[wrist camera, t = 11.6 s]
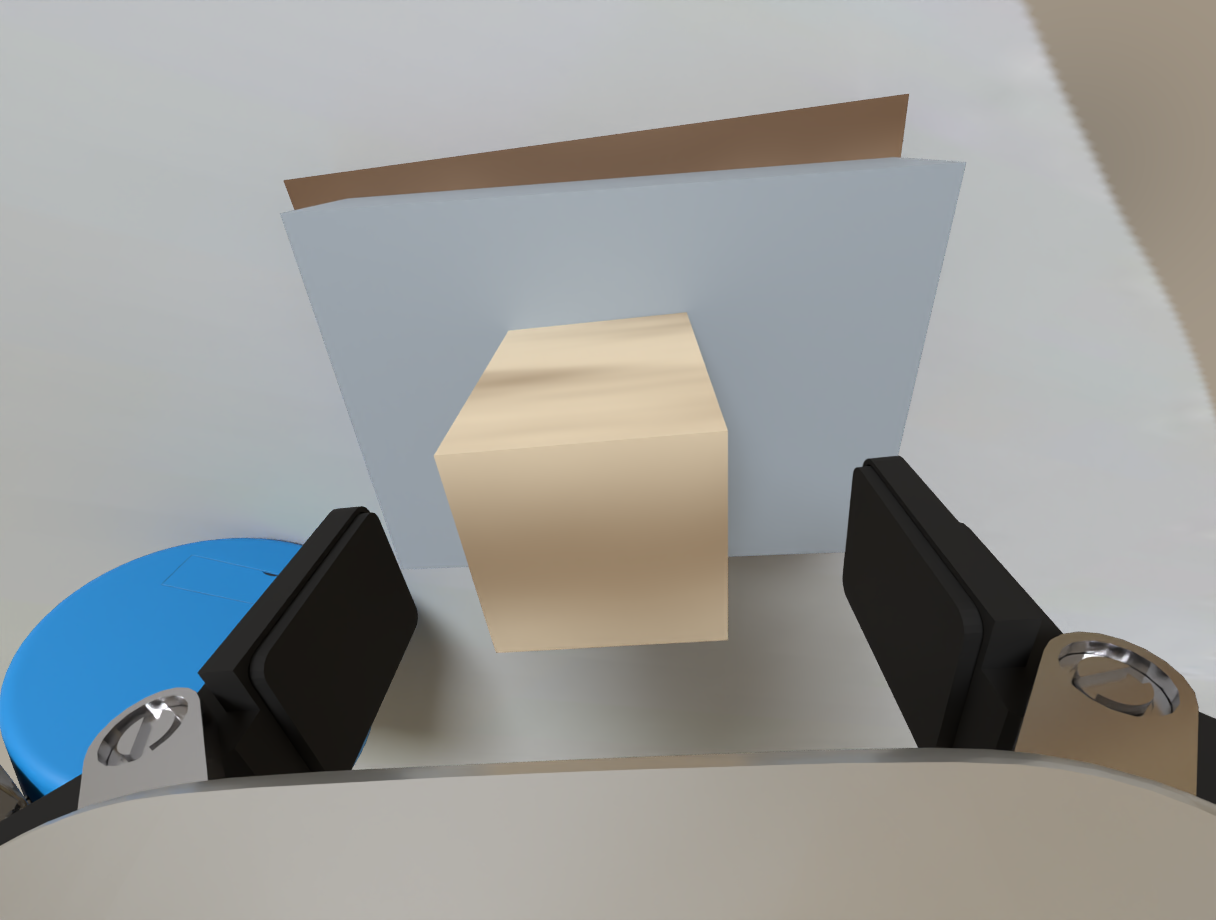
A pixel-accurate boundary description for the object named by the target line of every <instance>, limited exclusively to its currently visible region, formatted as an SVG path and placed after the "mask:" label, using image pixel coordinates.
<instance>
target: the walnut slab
mask: <svg viewBox="0 0 1216 920" xmlns="http://www.w3.org/2000/svg"><path fill="white" fill-rule="evenodd" d="M908 98H909V94H904V95H896V96H889V97H882V98H875V99H868V100H860V101H853V102H846V103H839V104H832V105H824V106H817V107H810V108H803V109H795V110H788V111H781V112H774V113H767V114H759V115H752V116H745V117H738V118H730V119H723V120H716V121H709V122H702V123H694V124H687V125H680V126H673V127H666V128H658V129H651V130H644V131H637V132H629V133H622V134H615V135H608V136H601V137H593V138H586V139H579V140H572V141H564V142H557V143H550V144H543V145H536V146H528V147H521V148H514V149H507V150H500V151H492V152H485V153H478V154H471V155H463V156H456V157H449V158H442V159H435V160H427V161H420V162H413V163H406V164H398V165H391V166H384V167H377V168H370V169H362V170H355V171H348V172H341V173H333V174H326V175H319V176H312V177H305V178H297V179H290V180H284V183H285V186H286V188H287V191H288V194H289V196H290V199H291V202H292V204H293V207H294V210H298V209H302V208H307V207H311V206H316V205H320V204H325V203H329V202H334V201H338V200H343V199H347V198H360V197H373V196H386V195H399V194H412V193H426V192H439V191H452V190H465V189H479V188H492V187H505V186H518V185H532V184H545V183H558V182H571V181H585V180H598V179H611V178H624V177H638V176H651V175H664V174H677V173H691V172H704V171H717V170H731V169H744V168H757V167H770V166H784V165H797V164H810V163H823V162H837V161H850V160H863V159H877V158H890V157H900V158H901V150H902V143H903V135H904V128H905V121H906V113H907V106H908Z"/></svg>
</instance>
